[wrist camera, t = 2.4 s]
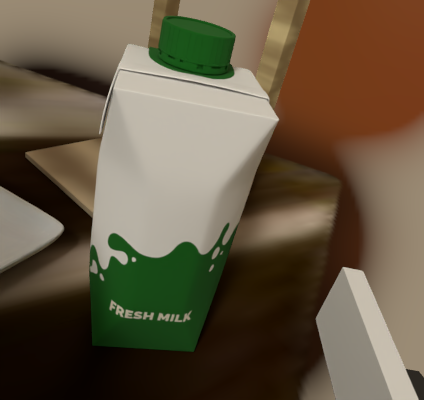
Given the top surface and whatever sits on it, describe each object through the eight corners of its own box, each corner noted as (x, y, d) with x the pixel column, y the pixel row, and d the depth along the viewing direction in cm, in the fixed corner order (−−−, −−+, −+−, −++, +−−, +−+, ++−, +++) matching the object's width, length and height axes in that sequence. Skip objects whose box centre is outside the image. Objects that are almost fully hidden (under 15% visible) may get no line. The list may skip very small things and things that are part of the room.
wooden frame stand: (128, 250, 35) (183, -107, 21) (25, 157, 43) (18, -141, 30) (248, 195, 48) (330, -50, 34) (150, 132, 56) (185, -85, 43)
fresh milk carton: (198, 272, 35) (268, 35, 24) (207, 366, 27) (314, 81, 17) (95, 262, 33) (121, 0, 22) (74, 359, 25) (98, 34, 15)
